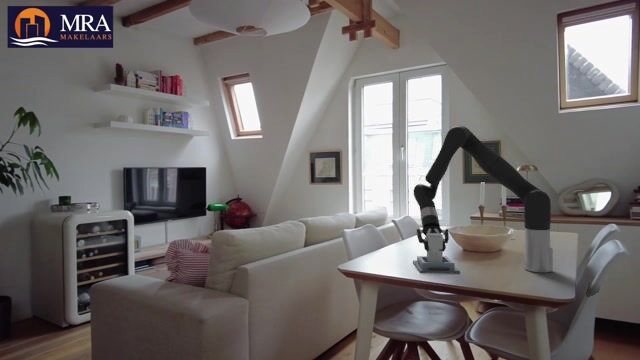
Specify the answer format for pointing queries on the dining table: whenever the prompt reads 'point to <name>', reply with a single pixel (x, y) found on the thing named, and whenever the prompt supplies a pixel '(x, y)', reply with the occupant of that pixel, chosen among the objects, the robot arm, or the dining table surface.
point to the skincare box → (435, 247)
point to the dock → (435, 265)
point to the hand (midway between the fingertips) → (435, 250)
